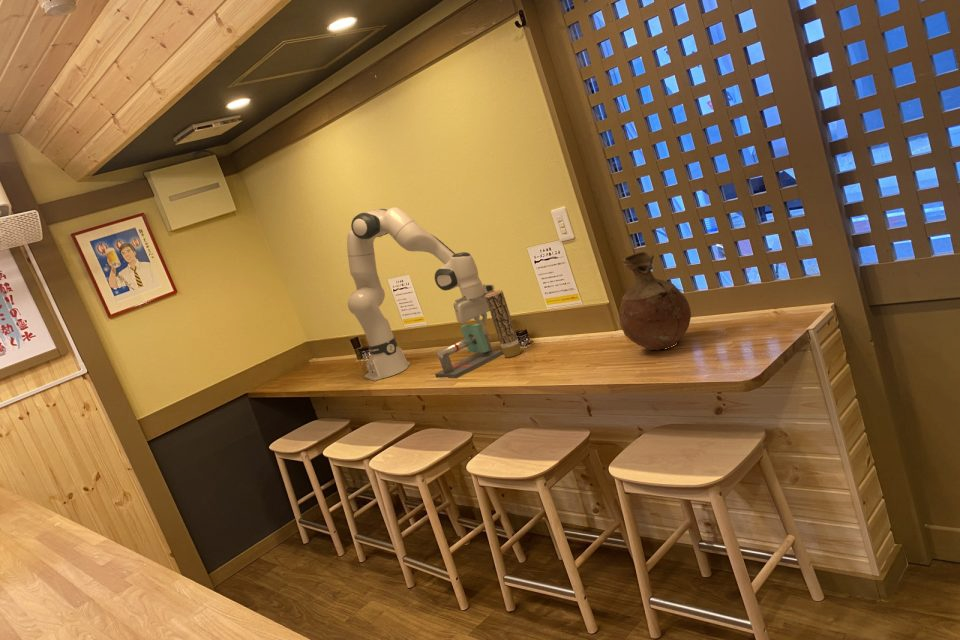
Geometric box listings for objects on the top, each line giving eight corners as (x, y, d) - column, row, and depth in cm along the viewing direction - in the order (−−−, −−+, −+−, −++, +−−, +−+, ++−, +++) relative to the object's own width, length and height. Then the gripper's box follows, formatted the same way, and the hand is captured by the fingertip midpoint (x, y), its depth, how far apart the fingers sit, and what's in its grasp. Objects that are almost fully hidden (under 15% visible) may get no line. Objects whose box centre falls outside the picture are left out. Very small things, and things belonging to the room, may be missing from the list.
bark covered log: (520, 355, 272) (500, 292, 267) (503, 359, 273) (483, 297, 269) (522, 350, 278) (503, 288, 274) (506, 354, 280) (486, 293, 275)
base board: (436, 377, 279) (434, 373, 279) (482, 354, 293) (481, 350, 293) (456, 378, 268) (455, 374, 268) (503, 354, 282) (502, 350, 282)
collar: (468, 352, 287) (460, 326, 285) (472, 350, 288) (464, 324, 286) (485, 352, 278) (476, 325, 276) (489, 350, 280) (480, 323, 278)
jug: (648, 363, 214) (620, 267, 208) (617, 353, 235) (591, 265, 229) (711, 339, 218) (686, 243, 213) (675, 330, 239) (652, 243, 233)
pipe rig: (442, 374, 275) (434, 351, 274) (488, 350, 289) (481, 329, 287) (447, 374, 272) (440, 351, 270) (494, 350, 286) (487, 328, 284)
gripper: (457, 300, 274) (468, 335, 277) (496, 283, 286) (507, 316, 288) (447, 301, 279) (458, 335, 282) (487, 285, 291) (497, 317, 294)
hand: (483, 325), depth 285 cm, fingers closed
